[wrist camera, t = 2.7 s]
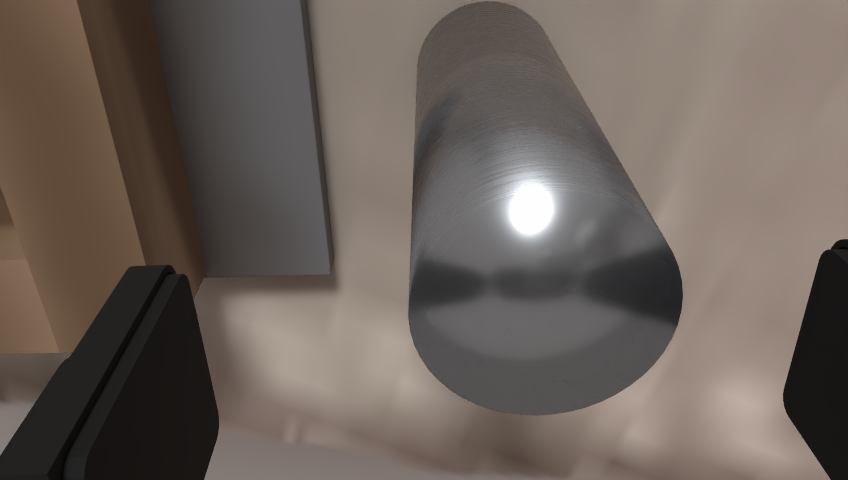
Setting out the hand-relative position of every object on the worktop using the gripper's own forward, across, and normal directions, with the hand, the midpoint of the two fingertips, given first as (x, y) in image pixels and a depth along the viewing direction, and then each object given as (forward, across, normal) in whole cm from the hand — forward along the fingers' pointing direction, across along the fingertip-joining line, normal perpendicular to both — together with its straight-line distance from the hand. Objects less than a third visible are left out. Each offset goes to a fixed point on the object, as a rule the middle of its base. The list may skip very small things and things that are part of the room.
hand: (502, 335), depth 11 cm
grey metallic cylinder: (+12, -1, -1) cm, 12 cm away
